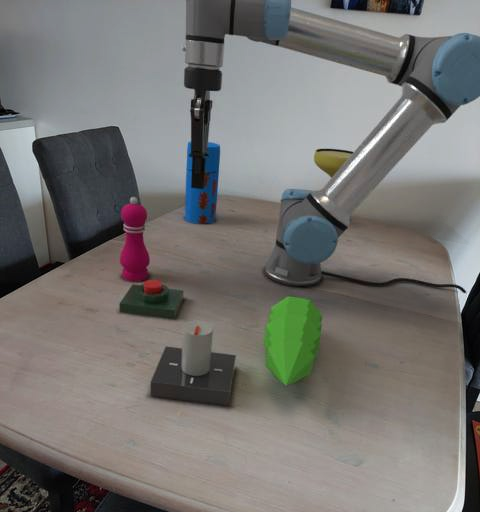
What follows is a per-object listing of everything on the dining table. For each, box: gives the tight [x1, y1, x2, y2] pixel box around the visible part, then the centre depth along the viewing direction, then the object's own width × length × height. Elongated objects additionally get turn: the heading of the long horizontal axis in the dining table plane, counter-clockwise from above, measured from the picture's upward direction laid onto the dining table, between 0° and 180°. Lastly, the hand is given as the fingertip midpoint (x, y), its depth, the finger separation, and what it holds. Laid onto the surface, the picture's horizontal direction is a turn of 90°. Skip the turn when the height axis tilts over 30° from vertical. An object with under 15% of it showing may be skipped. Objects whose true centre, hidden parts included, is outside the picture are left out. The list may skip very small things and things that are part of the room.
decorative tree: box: [262, 295, 323, 386], centre depth 87 cm, size 11×12×30 cm
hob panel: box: [150, 346, 237, 407], centre depth 82 cm, size 13×11×3 cm
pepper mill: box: [119, 196, 151, 282], centre depth 113 cm, size 7×7×20 cm
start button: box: [143, 279, 163, 294], centre depth 103 cm, size 4×4×2 cm
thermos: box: [184, 141, 221, 225], centre depth 158 cm, size 11×11×25 cm
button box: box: [119, 283, 185, 320], centre depth 104 cm, size 12×10×4 cm
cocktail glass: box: [313, 148, 354, 179], centre depth 168 cm, size 18×18×25 cm
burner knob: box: [181, 319, 214, 376], centre depth 79 cm, size 5×5×8 cm
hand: (197, 187), depth 104 cm, fingers closed
